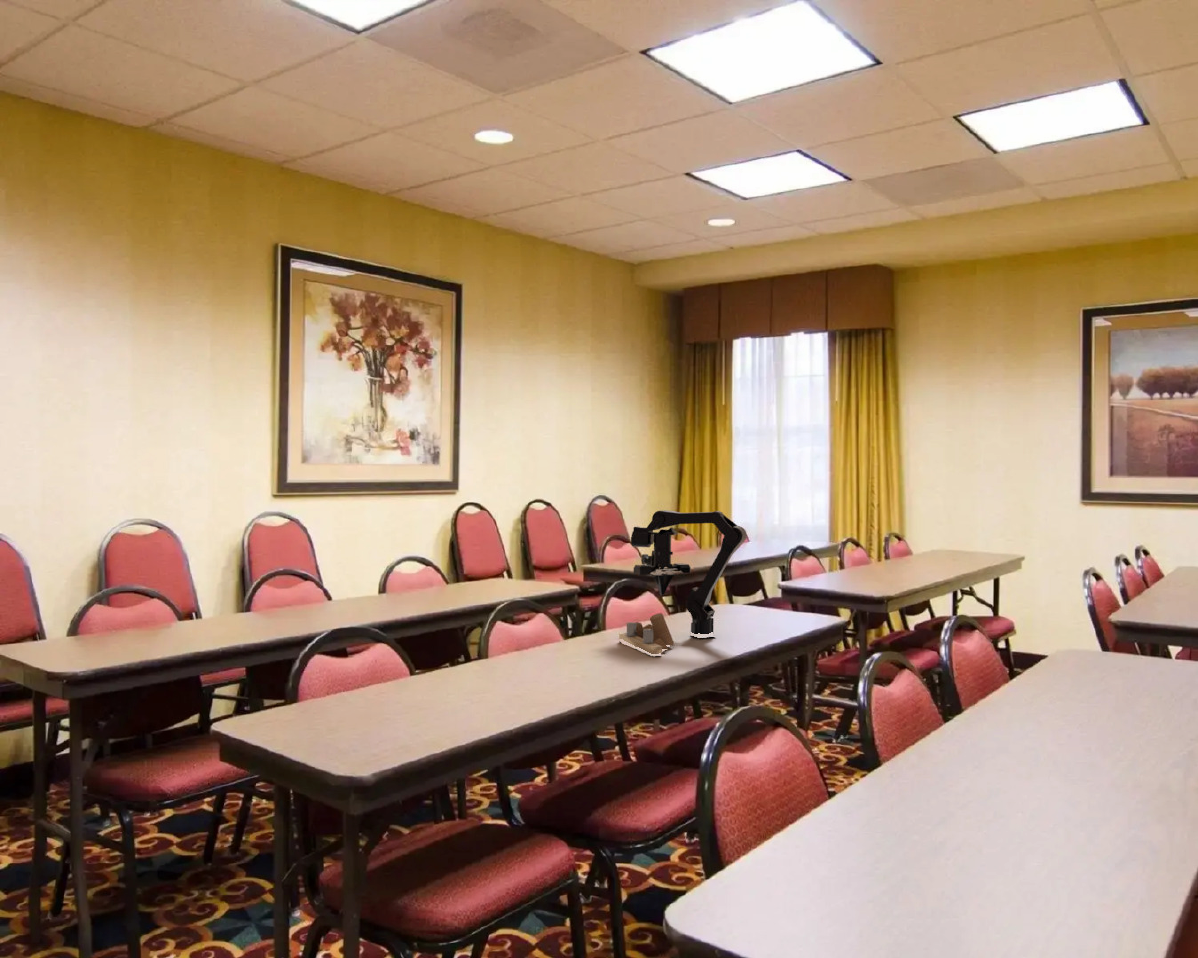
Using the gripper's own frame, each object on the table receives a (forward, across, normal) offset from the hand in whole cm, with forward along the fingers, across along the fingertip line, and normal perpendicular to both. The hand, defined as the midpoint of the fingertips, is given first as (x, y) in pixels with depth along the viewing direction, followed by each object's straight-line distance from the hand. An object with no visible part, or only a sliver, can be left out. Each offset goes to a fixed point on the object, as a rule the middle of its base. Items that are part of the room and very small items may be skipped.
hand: (662, 594), depth 308 cm
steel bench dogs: (+13, +18, +21) cm, 31 cm away
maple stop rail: (+13, +18, +21) cm, 31 cm away
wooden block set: (+13, +12, +20) cm, 27 cm away
